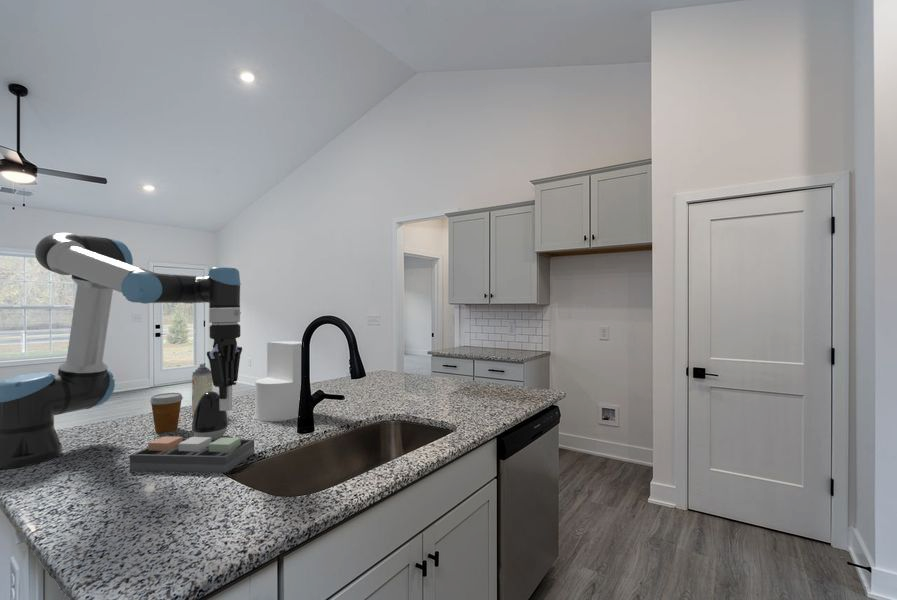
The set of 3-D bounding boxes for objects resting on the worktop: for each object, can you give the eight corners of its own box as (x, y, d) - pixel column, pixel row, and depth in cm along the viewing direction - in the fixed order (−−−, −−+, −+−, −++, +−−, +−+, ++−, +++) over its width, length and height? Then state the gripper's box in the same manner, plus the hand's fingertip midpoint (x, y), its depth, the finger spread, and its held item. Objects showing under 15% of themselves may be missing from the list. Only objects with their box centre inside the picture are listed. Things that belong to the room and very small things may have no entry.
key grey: (178, 451, 113) (178, 443, 113) (192, 444, 119) (192, 436, 119) (198, 451, 113) (198, 443, 113) (211, 444, 119) (211, 437, 119)
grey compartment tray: (129, 470, 110) (129, 455, 110) (168, 451, 124) (168, 437, 124) (225, 472, 108) (225, 457, 108) (254, 453, 122) (254, 439, 122)
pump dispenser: (212, 445, 130) (212, 395, 130) (183, 443, 132) (184, 394, 132) (235, 434, 139) (235, 388, 140) (208, 433, 142) (208, 387, 142)
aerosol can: (196, 413, 167) (196, 363, 167) (215, 412, 168) (215, 362, 168) (189, 418, 160) (189, 365, 160) (208, 417, 161) (208, 365, 161)
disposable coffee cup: (143, 432, 142) (143, 397, 142) (170, 425, 151) (170, 391, 151) (161, 435, 139) (162, 399, 139) (189, 427, 148) (189, 393, 148)
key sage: (208, 451, 113) (208, 444, 113) (221, 444, 119) (221, 437, 119) (228, 452, 113) (228, 444, 113) (240, 444, 118) (240, 437, 118)
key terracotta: (148, 450, 114) (148, 443, 114) (163, 443, 120) (163, 436, 120) (168, 450, 114) (168, 443, 114) (182, 443, 119) (182, 436, 119)
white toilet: (286, 407, 176) (286, 340, 176) (312, 413, 166) (312, 342, 166) (246, 416, 162) (246, 343, 162) (271, 424, 152) (271, 346, 152)
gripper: (224, 324, 109) (225, 416, 109) (250, 322, 122) (251, 404, 122) (196, 325, 110) (197, 416, 109) (226, 322, 123) (226, 404, 122)
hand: (225, 409), depth 116 cm, fingers closed
